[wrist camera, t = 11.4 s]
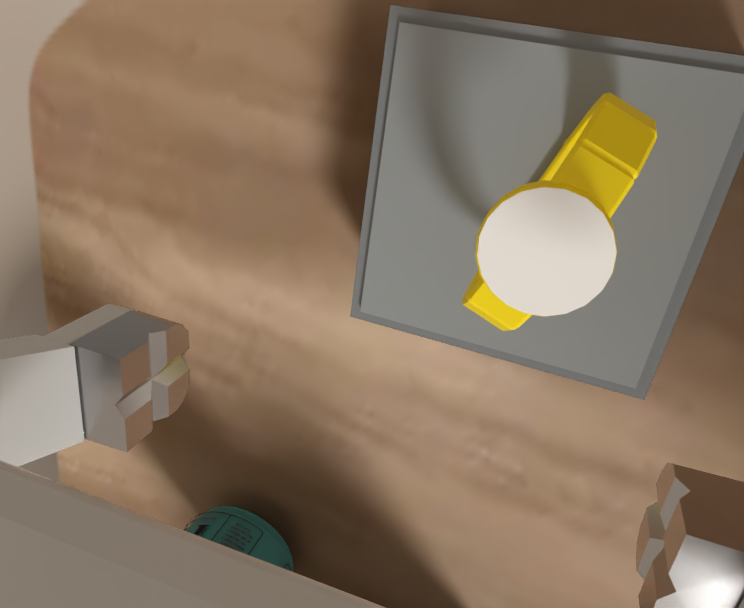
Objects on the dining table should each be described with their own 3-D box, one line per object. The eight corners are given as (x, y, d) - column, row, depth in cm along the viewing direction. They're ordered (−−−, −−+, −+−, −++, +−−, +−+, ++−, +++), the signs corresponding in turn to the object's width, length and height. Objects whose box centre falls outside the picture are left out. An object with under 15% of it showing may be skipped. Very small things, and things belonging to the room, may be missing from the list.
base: (746, 56, 18) (782, 61, 14) (637, 344, 22) (645, 403, 19) (426, 10, 20) (388, 4, 17) (385, 277, 25) (348, 318, 21)
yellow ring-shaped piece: (579, 75, 16) (582, 71, 11) (668, 130, 16) (717, 153, 11) (459, 254, 19) (414, 321, 13) (534, 304, 19) (520, 392, 13)
